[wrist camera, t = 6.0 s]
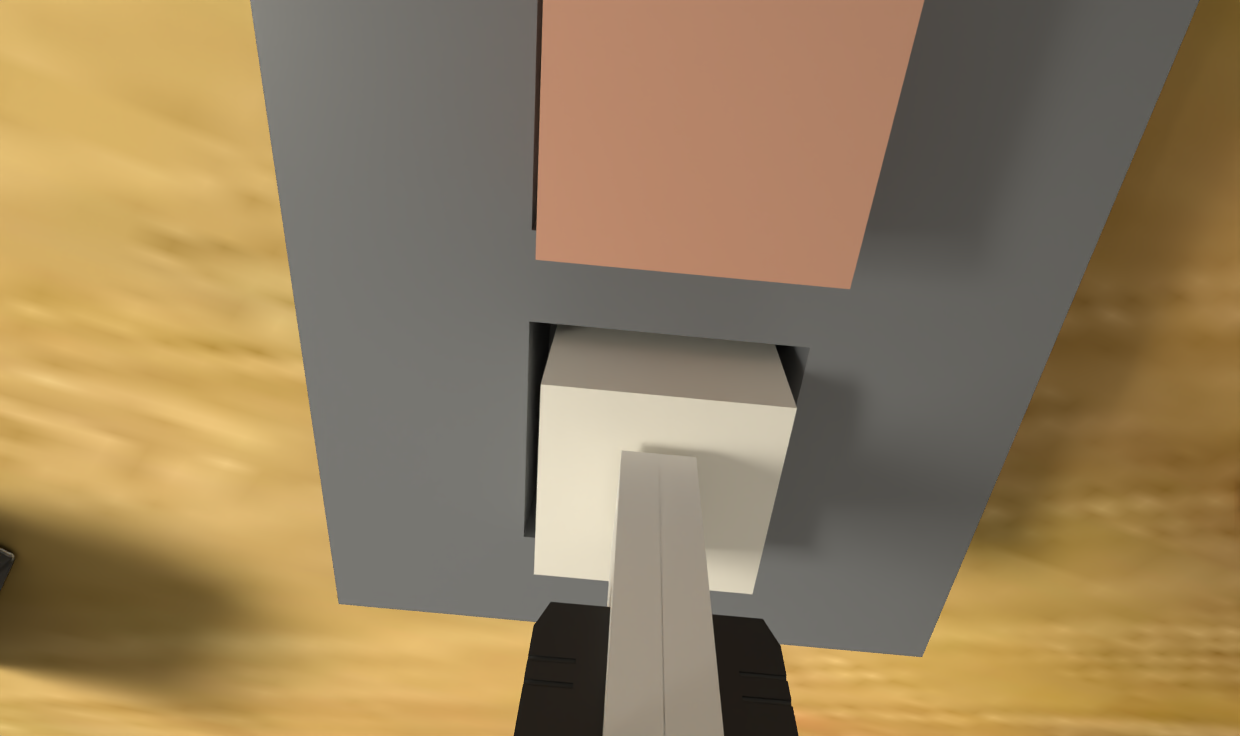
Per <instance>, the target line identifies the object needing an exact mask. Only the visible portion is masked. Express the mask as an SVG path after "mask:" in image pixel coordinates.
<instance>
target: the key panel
mask: <svg viewBox="0 0 1240 736" xmlns="http://www.w3.org/2000/svg"><path fill="white" fill-rule="evenodd" d="M250 2H251V9H252V16H253V23H254V30H255V36H256V43H257V50H258V57H259V64H260V70H261V77H262V84H263V91H264V98H265V104H266V111H267V118H268V125H269V132H270V139H271V145H272V152H273V159H274V166H275V173H276V179H277V186H278V193H279V200H280V207H281V213H282V220H283V227H284V234H285V241H286V248H287V254H288V261H289V268H290V275H291V282H292V288H293V295H294V302H295V309H296V316H297V322H298V329H299V336H300V343H301V350H302V357H303V363H304V370H305V377H306V384H307V391H308V397H309V404H310V411H311V418H312V425H313V431H314V438H315V445H316V452H317V459H318V466H319V472H320V479H321V486H322V493H323V500H324V506H325V513H326V520H327V527H328V534H329V540H330V547H331V554H332V561H333V568H334V575H335V581H336V588H337V595H338V602H339V604H345V605H356V606H367V607H378V608H389V609H400V610H411V611H422V612H433V613H444V614H455V615H466V616H476V617H487V618H498V619H509V620H520V621H531V622H537V620H538V619H539V617H540V616H541V615H542V613H543V612H544V610H545V609H546V608H547V606H548V605H549V603H550V602H560V603H571V604H583V605H594V606H605V607H607V601H608V586H609V581H602V580H591V579H580V578H569V577H558V576H547V575H536V574H534V559H535V531H536V503H537V474H538V446H539V418H540V390H541V382H542V378H543V374H544V371H545V367H546V364H547V360H548V357H549V353H550V349H551V346H552V342H553V339H554V335H555V331H556V328H557V324H562V325H573V326H584V327H594V328H605V329H616V330H626V331H637V332H648V333H658V334H669V335H680V336H691V337H701V338H712V339H723V340H733V341H744V342H755V343H766V344H775V346H776V349H777V352H778V355H779V358H780V361H781V364H782V367H783V369H784V372H785V375H786V378H787V381H788V384H789V387H790V390H791V392H792V395H793V398H794V401H795V404H796V407H797V410H796V414H795V418H794V423H793V427H792V431H791V435H790V439H789V444H788V448H787V452H786V456H785V460H784V464H783V469H782V473H781V477H780V481H779V485H778V489H777V494H776V498H775V502H774V506H773V510H772V514H771V519H770V523H769V527H768V531H767V535H766V539H765V544H764V548H763V552H762V556H761V560H760V564H759V569H758V573H757V577H756V581H755V585H754V590H753V594H744V593H733V592H722V591H711V590H710V600H711V610H712V614H715V615H726V616H738V617H749V618H760V619H763V620H764V621H765V623H766V624H767V626H768V627H769V629H770V630H771V632H772V633H773V635H774V636H775V638H776V640H777V641H778V643H779V644H784V645H795V646H806V647H817V648H828V649H839V650H850V651H861V652H872V653H883V654H894V655H905V656H916V657H922V656H923V654H924V651H925V649H926V646H927V644H928V642H929V639H930V637H931V635H932V632H933V630H934V628H935V625H936V623H937V620H938V618H939V616H940V613H941V611H942V609H943V606H944V604H945V601H946V599H947V597H948V594H949V592H950V590H951V587H952V585H953V583H954V580H955V578H956V575H957V573H958V571H959V568H960V566H961V564H962V561H963V559H964V557H965V554H966V552H967V549H968V547H969V545H970V542H971V540H972V538H973V535H974V533H975V530H976V528H977V526H978V523H979V521H980V519H981V516H982V514H983V512H984V509H985V507H986V504H987V502H988V500H989V497H990V495H991V493H992V490H993V488H994V486H995V483H996V481H997V478H998V476H999V474H1000V471H1001V469H1002V467H1003V464H1004V462H1005V459H1006V457H1007V455H1008V452H1009V450H1010V448H1011V445H1012V443H1013V441H1014V438H1015V436H1016V433H1017V431H1018V429H1019V426H1020V424H1021V422H1022V419H1023V417H1024V414H1025V412H1026V410H1027V407H1028V405H1029V403H1030V400H1031V398H1032V396H1033V393H1034V391H1035V388H1036V386H1037V384H1038V381H1039V379H1040V377H1041V374H1042V372H1043V370H1044V367H1045V365H1046V362H1047V360H1048V358H1049V355H1050V353H1051V351H1052V348H1053V346H1054V343H1055V341H1056V339H1057V336H1058V334H1059V332H1060V329H1061V327H1062V325H1063V322H1064V320H1065V317H1066V315H1067V313H1068V310H1069V308H1070V306H1071V303H1072V301H1073V299H1074V296H1075V294H1076V291H1077V289H1078V287H1079V284H1080V282H1081V280H1082V277H1083V275H1084V272H1085V270H1086V268H1087V265H1088V263H1089V261H1090V258H1091V256H1092V254H1093V251H1094V249H1095V246H1096V244H1097V242H1098V239H1099V237H1100V235H1101V232H1102V230H1103V228H1104V225H1105V223H1106V220H1107V218H1108V216H1109V213H1110V211H1111V209H1112V206H1113V204H1114V201H1115V199H1116V197H1117V194H1118V192H1119V190H1120V187H1121V185H1122V183H1123V180H1124V178H1125V175H1126V173H1127V171H1128V168H1129V166H1130V164H1131V161H1132V159H1133V157H1134V154H1135V152H1136V149H1137V147H1138V145H1139V142H1140V140H1141V138H1142V135H1143V133H1144V130H1145V128H1146V126H1147V123H1148V121H1149V119H1150V116H1151V114H1152V112H1153V109H1154V107H1155V104H1156V102H1157V100H1158V97H1159V95H1160V93H1161V90H1162V88H1163V85H1164V83H1165V81H1166V78H1167V76H1168V74H1169V71H1170V69H1171V67H1172V64H1173V62H1174V59H1175V57H1176V55H1177V52H1178V50H1179V48H1180V45H1181V43H1182V41H1183V38H1184V36H1185V33H1186V31H1187V29H1188V26H1189V24H1190V22H1191V19H1192V17H1193V14H1194V12H1195V10H1196V7H1197V5H1198V3H1199V0H924V4H923V8H922V12H921V15H920V19H919V23H918V27H917V31H916V35H915V39H914V43H913V46H912V50H911V54H910V58H909V62H908V66H907V70H906V74H905V78H904V81H903V85H902V89H901V93H900V97H899V101H898V105H897V109H896V112H895V116H894V120H893V124H892V128H891V132H890V136H889V140H888V144H887V147H886V151H885V155H884V159H883V163H882V167H881V171H880V175H879V178H878V182H877V186H876V190H875V194H874V198H873V202H872V206H871V210H870V213H869V217H868V221H867V225H866V229H865V233H864V237H863V241H862V245H861V248H860V252H859V256H858V260H857V264H856V268H855V272H854V276H853V279H852V283H851V287H850V289H842V288H831V287H821V286H810V285H799V284H789V283H778V282H767V281H757V280H746V279H735V278H725V277H714V276H703V275H693V274H682V273H671V272H661V271H650V270H640V269H629V268H618V267H608V266H597V265H586V264H576V263H565V262H554V261H544V260H536V226H537V191H538V156H539V121H540V87H541V52H542V17H543V0H250Z"/></svg>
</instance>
